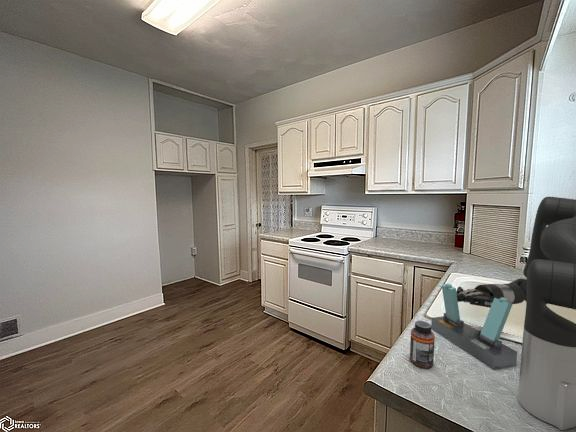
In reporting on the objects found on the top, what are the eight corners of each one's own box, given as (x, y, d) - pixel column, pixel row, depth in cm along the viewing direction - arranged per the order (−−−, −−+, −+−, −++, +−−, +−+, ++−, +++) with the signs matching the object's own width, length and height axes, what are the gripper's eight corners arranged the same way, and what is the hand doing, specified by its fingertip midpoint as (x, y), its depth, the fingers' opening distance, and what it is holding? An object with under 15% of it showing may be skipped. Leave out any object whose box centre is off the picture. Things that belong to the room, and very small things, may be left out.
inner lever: (496, 346, 73) (514, 301, 74) (491, 345, 73) (509, 299, 73) (483, 339, 77) (499, 296, 77) (478, 337, 77) (495, 294, 77)
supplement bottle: (412, 353, 77) (414, 316, 76) (435, 361, 73) (437, 323, 72) (407, 363, 72) (408, 324, 71) (430, 372, 68) (433, 331, 68)
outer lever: (461, 324, 85) (455, 285, 83) (456, 326, 85) (450, 286, 83) (451, 318, 89) (445, 281, 87) (446, 320, 89) (440, 282, 87)
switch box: (516, 365, 72) (517, 344, 71) (493, 369, 70) (495, 347, 69) (449, 326, 93) (450, 309, 92) (431, 328, 91) (432, 311, 91)
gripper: (477, 278, 96) (437, 280, 92) (515, 291, 83) (471, 294, 79) (475, 297, 96) (436, 301, 93) (513, 314, 84) (469, 318, 80)
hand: (452, 298), depth 86 cm, fingers closed
